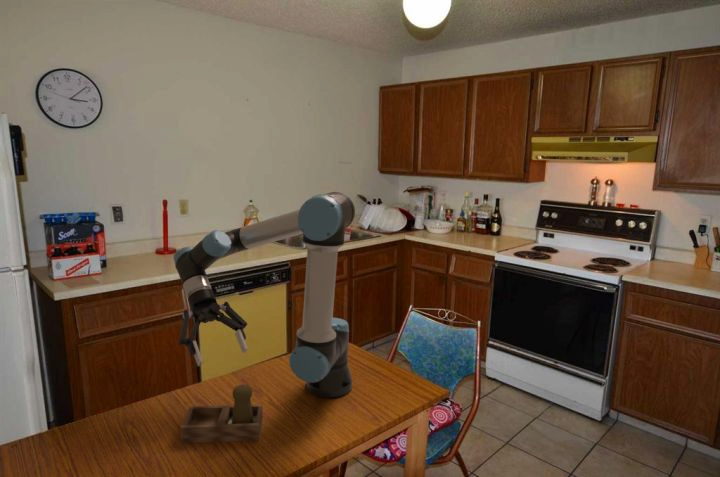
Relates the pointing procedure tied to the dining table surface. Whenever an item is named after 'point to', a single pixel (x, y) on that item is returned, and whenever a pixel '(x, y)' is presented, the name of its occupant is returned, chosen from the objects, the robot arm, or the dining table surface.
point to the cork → (242, 405)
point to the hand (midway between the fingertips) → (223, 357)
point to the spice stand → (219, 425)
